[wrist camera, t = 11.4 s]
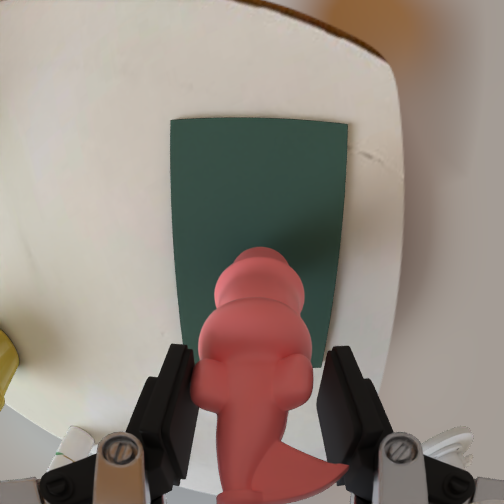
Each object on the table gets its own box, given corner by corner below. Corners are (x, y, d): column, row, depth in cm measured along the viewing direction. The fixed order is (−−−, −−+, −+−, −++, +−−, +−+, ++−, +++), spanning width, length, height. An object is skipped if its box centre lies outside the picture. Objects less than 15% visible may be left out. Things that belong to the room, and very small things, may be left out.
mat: (345, 125, 19) (348, 124, 18) (320, 363, 25) (321, 367, 24) (172, 120, 19) (170, 119, 18) (187, 361, 25) (185, 365, 24)
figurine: (299, 232, 18) (378, 455, 4) (303, 305, 20) (342, 527, 6) (217, 239, 18) (108, 453, 4) (228, 311, 20) (180, 528, 6)
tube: (91, 432, 30) (55, 514, 16) (96, 447, 32) (66, 523, 17) (66, 422, 30) (26, 498, 16) (72, 437, 31) (39, 509, 17)
